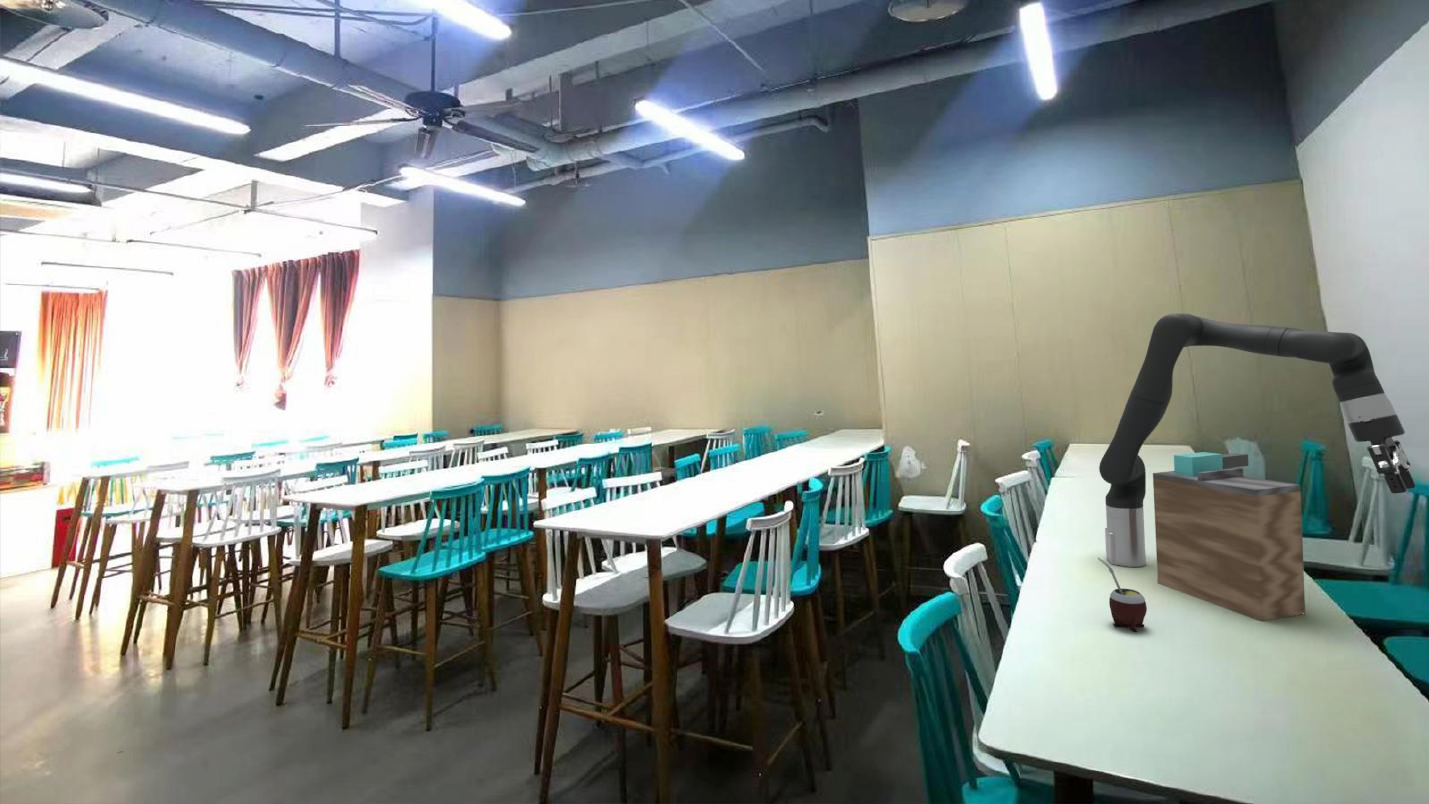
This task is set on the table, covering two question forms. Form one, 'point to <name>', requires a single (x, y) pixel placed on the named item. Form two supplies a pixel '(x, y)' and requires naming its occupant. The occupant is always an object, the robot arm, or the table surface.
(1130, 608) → the mate gourd
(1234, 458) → the block
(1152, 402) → the robot arm
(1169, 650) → the table surface
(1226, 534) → the cabinet
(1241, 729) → the table surface
